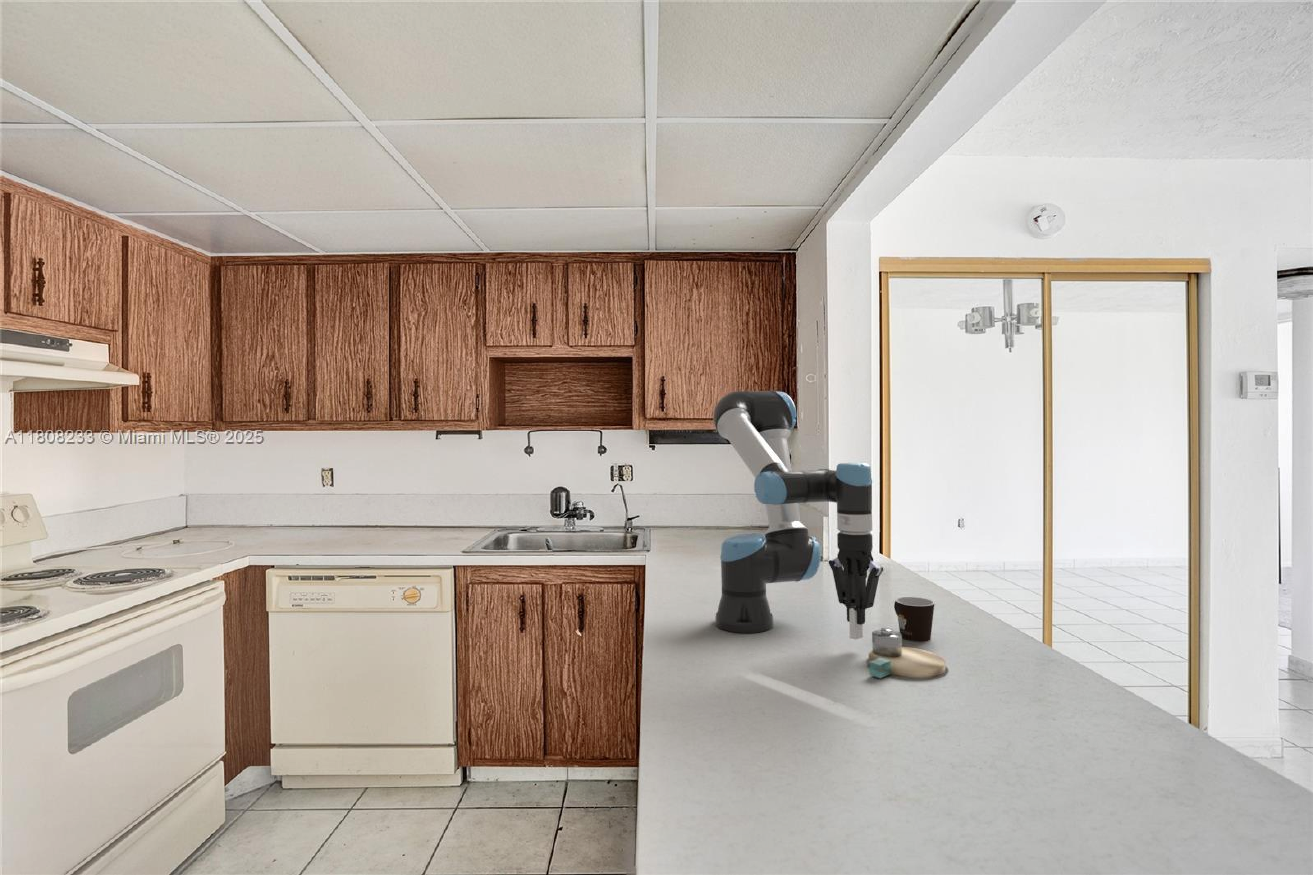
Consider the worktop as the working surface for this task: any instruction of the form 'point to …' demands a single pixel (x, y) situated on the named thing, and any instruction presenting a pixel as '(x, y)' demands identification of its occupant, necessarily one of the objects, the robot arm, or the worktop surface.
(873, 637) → the cover
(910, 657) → the platter
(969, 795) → the worktop surface
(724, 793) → the worktop surface
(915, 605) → the coffee mug
